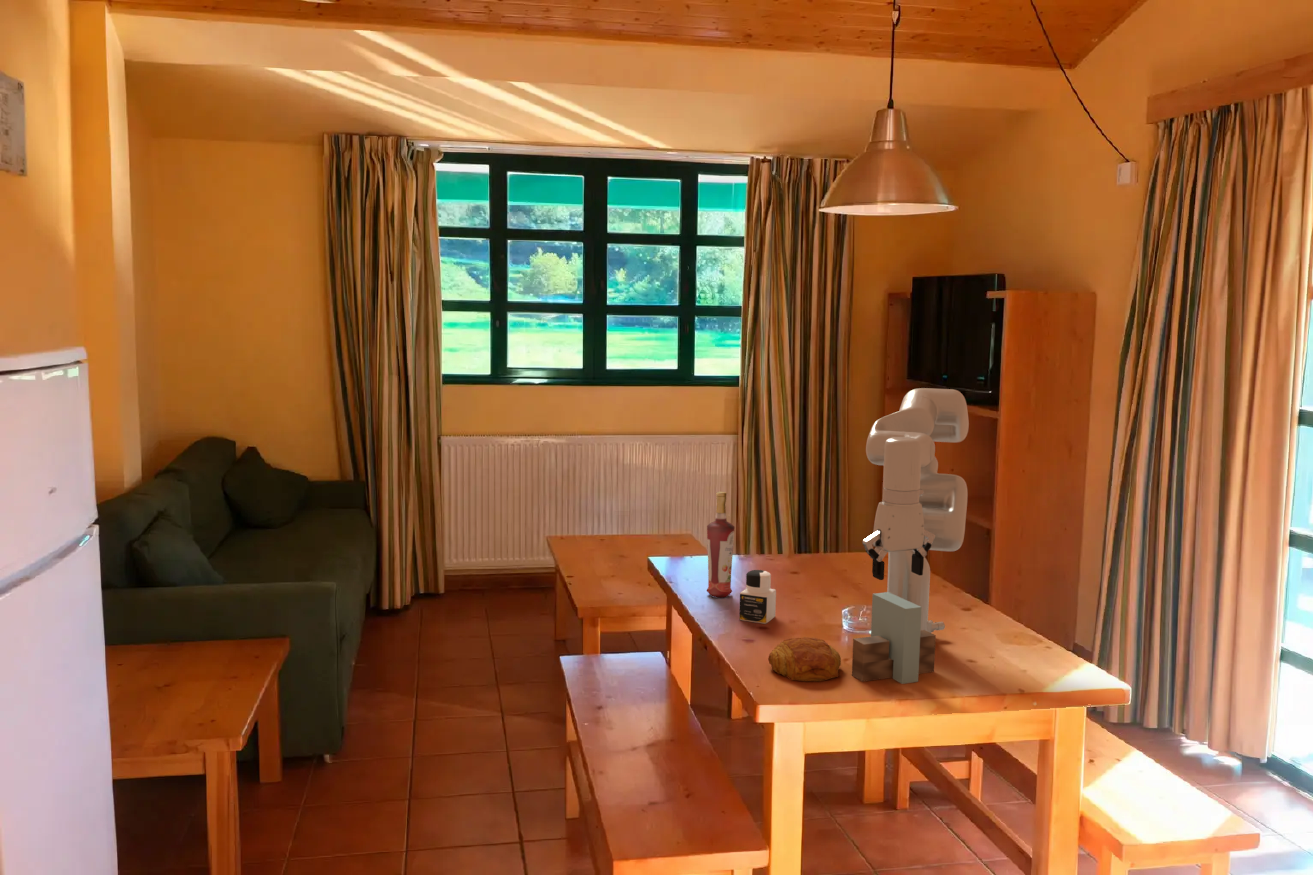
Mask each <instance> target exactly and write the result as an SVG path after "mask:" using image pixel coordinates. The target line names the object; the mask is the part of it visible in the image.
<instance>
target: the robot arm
mask: <svg viewBox="0 0 1313 875" xmlns="http://www.w3.org/2000/svg"><path fill="white" fill-rule="evenodd" d="M969 422H970V421H969V413H968V405H967V400H966V398H965V396H964V395H963V393H961V391H959V390H957V389H953V388H950V389H949V388H930V387H929V388H928V387H926V388H925V387H921V388H920V387H919V388H914V389H912V390H909V391H908V392H906V394H905V395H904V396H903V399H902V401H901V404H900V407H899V411H896V412H893V413H890V414H888V415H885V416H882V417H881V418H879V419H877V420H876V421H875V422H874V423H872V426H871V428H870V431H869V433H868V436H867V439H866V443H865V444H866V445H865V453H866V457H867V460H868V461H869V462H870V463H871V464H873V465H875V466H877V465H878V466H883V474H882V475H883V477H882V481H883V482H882V499H881V500H882V501H880V502H878V504H877V508H876V511H875V517H874V524H873V531H872V532H873V533H872V534H870V535H868V536H867V537H866V538H864V539H863V540H862V545H863V548H864V550H865V553H866V554H867V555H868V556H869V557H870V559H872V570H871V573H872V577H873V578H875V579H877V580H879V581H884V579H885V565H886V564H885V561H883V560H884V558H885V557H886V555H887V554H888V556H887V557H888V562H887V563H888V565H887V586H886V587H887V589H886V590H887V591H886V592H889V593H891V594H894V595H896V596H898V597H900V598H903V599H905V600H907V601H909V602H912V603H914V604H916V605H918V606H920V607H922V610H921V630H926V631H928V632H930V633H934V631H943V630H945V629H946V628H945V627H946V625H945V623H944V621H938V622H937V621H936V622H934V621H933V620H929V607H930V606H929V604H930V602H929V601H930V587H931V586H930V584H931V582H930V581H931V568H930V564H929V562H928V559H927V558H926V556H927V555H928V551H940V552H955V551H958V550H959V549H960V548H961V547H962V545H963V543H964V538H965V532H966V521H967V520H966V519H967V507H968V495H969V494H968V486H967V482H966V481H965V479H964V478H963V477H962V476H960V475H957V474H953V473H952V474H951V473H949V474H948V473H938V469H939V462H938V459H937V457H936V456H935V453H936V445H935V442H936V443H937V442H938V443H940V442H941V443H961V442H963V441H964V440H966V437H967V436H968V433H969V425H970V423H969ZM874 547H875V548H874Z"/></svg>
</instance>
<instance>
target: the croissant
mask: <svg viewBox="0 0 1313 875" xmlns="http://www.w3.org/2000/svg"><path fill="white" fill-rule="evenodd" d="M767 659H768V664H769V665H770V666H771V667H770V668H771V669H772V671H774V672H775V673H777V674H778V675H782V676H783V677H787V678H788V679H789V680H790V681H798V682H799V681H800V682H824V681H826V680H830V679H835V678H837V677H839V669H840V667H841V666H842V665H841V662H842V659H841V655H840V652H839V651H837V650H836V649H835V648H834V647H833V646H832V645H831V644H828V642H826V641H825V640H824V639H821V638H818V637H806V636H804V637H794V638H787V639H784V640H781V642H779V643H778V644H777V645H775V647H774V648H773V649H772V650H771V651H770V652H769V654H768V658H767Z"/></svg>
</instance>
